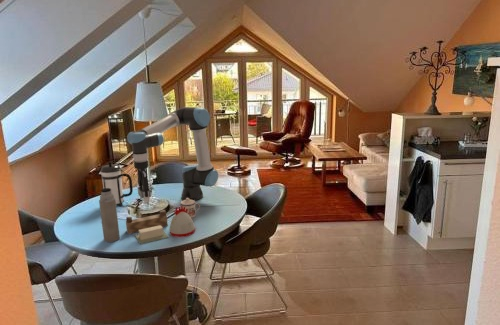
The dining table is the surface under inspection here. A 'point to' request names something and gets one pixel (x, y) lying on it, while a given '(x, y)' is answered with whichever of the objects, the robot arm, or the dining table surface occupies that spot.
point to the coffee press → (115, 181)
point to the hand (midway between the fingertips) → (144, 199)
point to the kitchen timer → (181, 223)
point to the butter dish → (151, 234)
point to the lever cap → (142, 192)
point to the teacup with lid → (190, 207)
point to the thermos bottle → (109, 216)
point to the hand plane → (146, 222)
